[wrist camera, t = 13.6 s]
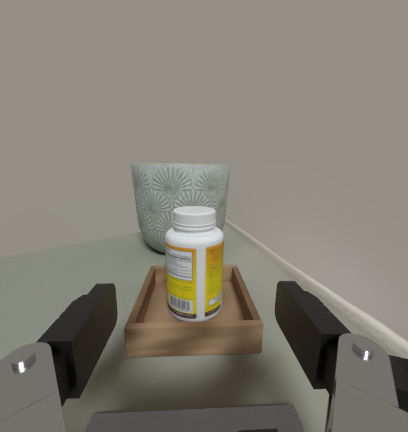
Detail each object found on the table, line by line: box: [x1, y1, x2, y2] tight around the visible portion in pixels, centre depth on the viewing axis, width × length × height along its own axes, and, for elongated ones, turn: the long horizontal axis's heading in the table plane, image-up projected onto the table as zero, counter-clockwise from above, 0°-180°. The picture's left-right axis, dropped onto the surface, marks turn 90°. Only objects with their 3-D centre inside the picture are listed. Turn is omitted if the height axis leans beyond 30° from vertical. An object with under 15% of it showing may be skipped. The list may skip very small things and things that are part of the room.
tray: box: [124, 265, 263, 357], centre depth 22 cm, size 11×11×3 cm
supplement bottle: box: [165, 206, 224, 322], centre depth 21 cm, size 6×6×10 cm
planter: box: [131, 163, 230, 253], centre depth 39 cm, size 17×17×15 cm
